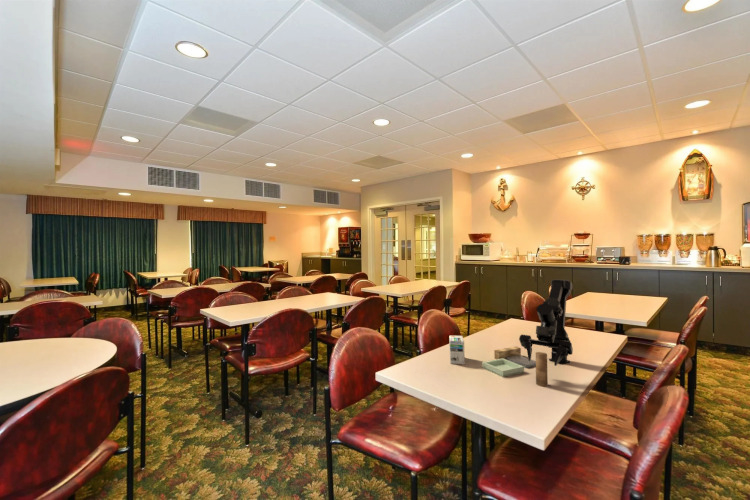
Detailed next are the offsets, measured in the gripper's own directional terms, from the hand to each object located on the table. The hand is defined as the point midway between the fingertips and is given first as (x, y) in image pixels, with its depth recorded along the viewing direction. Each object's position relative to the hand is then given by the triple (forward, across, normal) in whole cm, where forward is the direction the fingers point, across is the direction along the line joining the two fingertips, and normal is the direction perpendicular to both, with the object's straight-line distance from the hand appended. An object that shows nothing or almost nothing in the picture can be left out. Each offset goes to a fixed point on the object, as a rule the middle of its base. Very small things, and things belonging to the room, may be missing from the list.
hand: (541, 362), depth 127 cm
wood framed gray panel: (-8, -13, +21) cm, 26 cm away
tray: (+2, -17, +10) cm, 20 cm away
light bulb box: (+2, -38, +10) cm, 40 cm away
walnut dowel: (+6, 0, +6) cm, 8 cm away
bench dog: (-12, -21, +23) cm, 33 cm away
